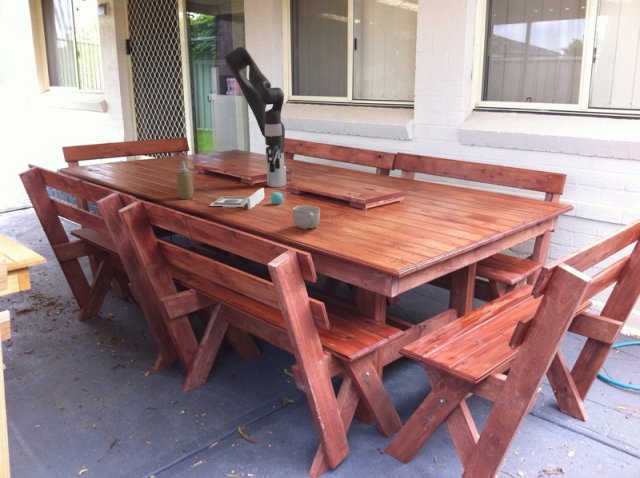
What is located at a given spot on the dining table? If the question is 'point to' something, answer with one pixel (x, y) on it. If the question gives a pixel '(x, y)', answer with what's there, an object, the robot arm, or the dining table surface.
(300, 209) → the teacup
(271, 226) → the dining table surface
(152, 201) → the dining table surface
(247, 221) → the dining table surface
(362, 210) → the dining table surface
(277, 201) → the teal ball
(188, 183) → the squeeze bottle
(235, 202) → the pad
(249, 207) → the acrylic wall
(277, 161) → the robot arm
